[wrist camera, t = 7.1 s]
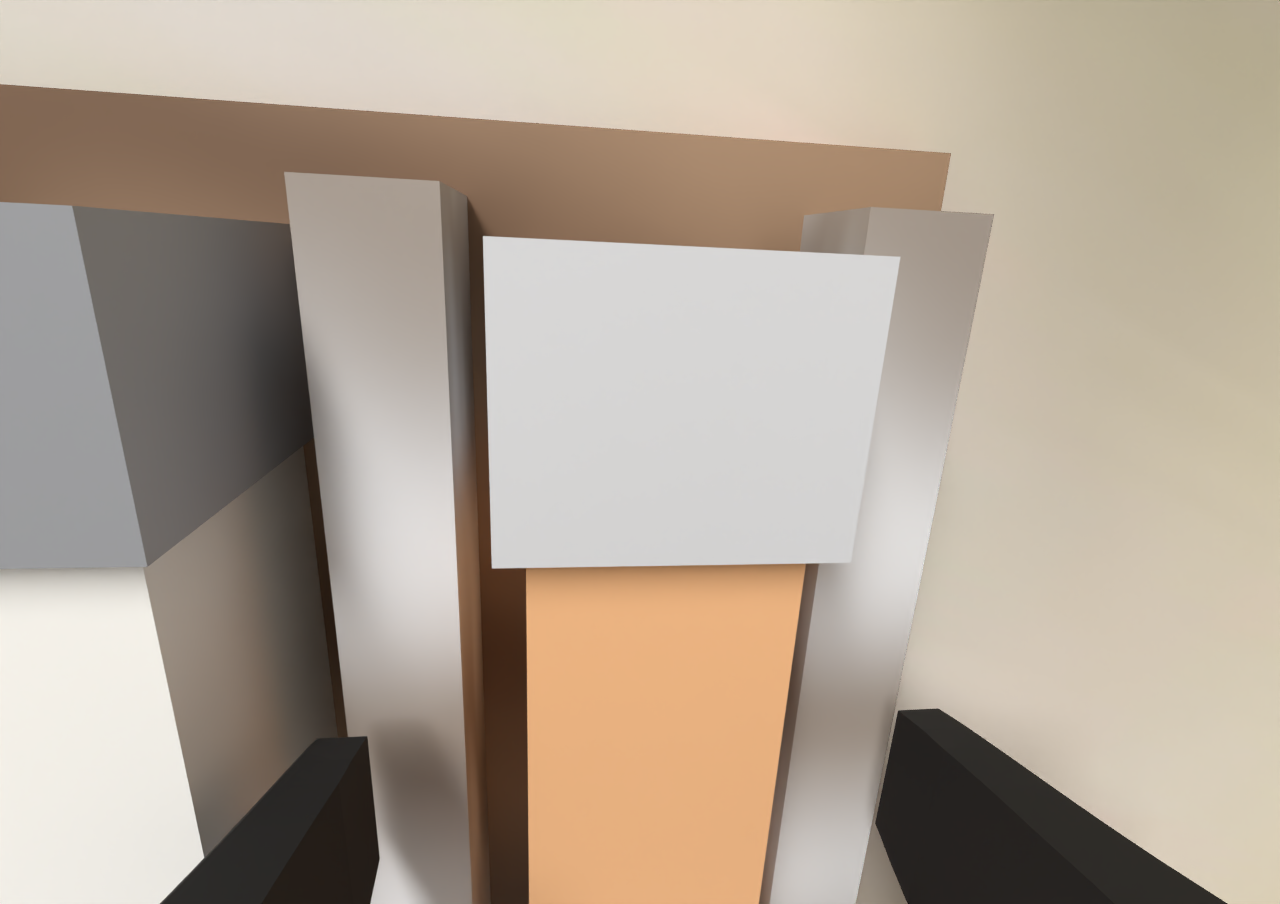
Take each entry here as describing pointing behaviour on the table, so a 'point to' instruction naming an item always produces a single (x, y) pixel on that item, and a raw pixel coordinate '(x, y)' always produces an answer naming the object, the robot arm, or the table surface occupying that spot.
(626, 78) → the table surface
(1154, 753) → the table surface
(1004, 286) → the table surface
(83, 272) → the capped white pillar
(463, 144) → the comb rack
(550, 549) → the capped square column
